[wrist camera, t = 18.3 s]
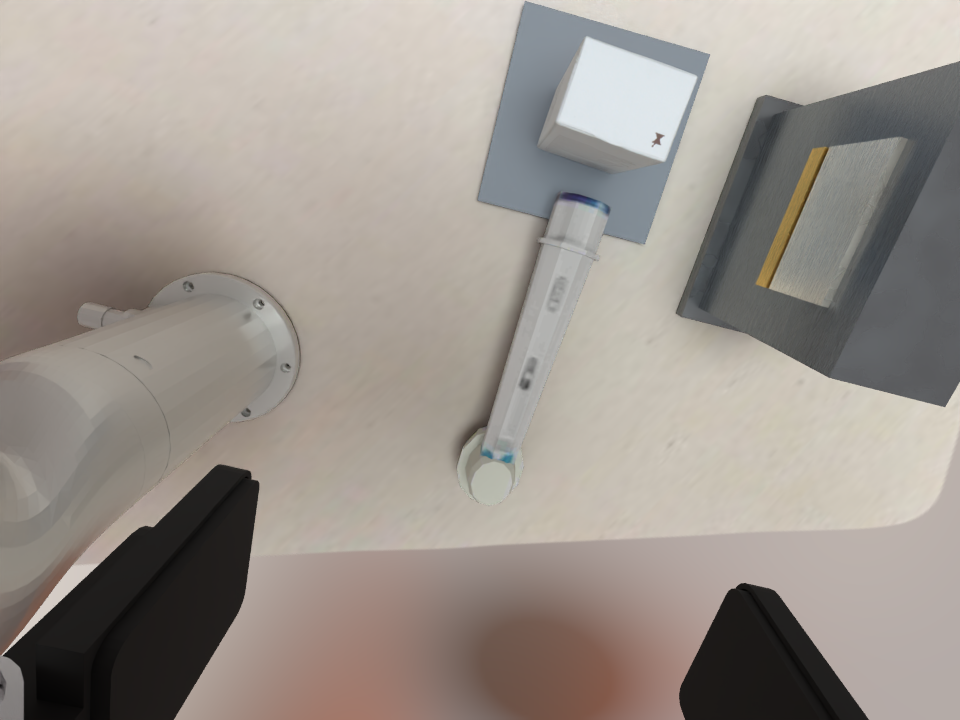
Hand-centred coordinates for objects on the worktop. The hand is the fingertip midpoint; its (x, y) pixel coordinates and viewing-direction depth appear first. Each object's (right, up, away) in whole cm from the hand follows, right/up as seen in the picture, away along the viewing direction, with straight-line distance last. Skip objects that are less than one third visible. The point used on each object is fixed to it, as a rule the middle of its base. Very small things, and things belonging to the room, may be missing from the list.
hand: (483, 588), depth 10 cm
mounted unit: (+21, +15, +29) cm, 39 cm away
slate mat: (+8, +21, +27) cm, 35 cm away
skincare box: (+7, +21, +26) cm, 34 cm away
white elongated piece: (+4, +5, +32) cm, 33 cm away
